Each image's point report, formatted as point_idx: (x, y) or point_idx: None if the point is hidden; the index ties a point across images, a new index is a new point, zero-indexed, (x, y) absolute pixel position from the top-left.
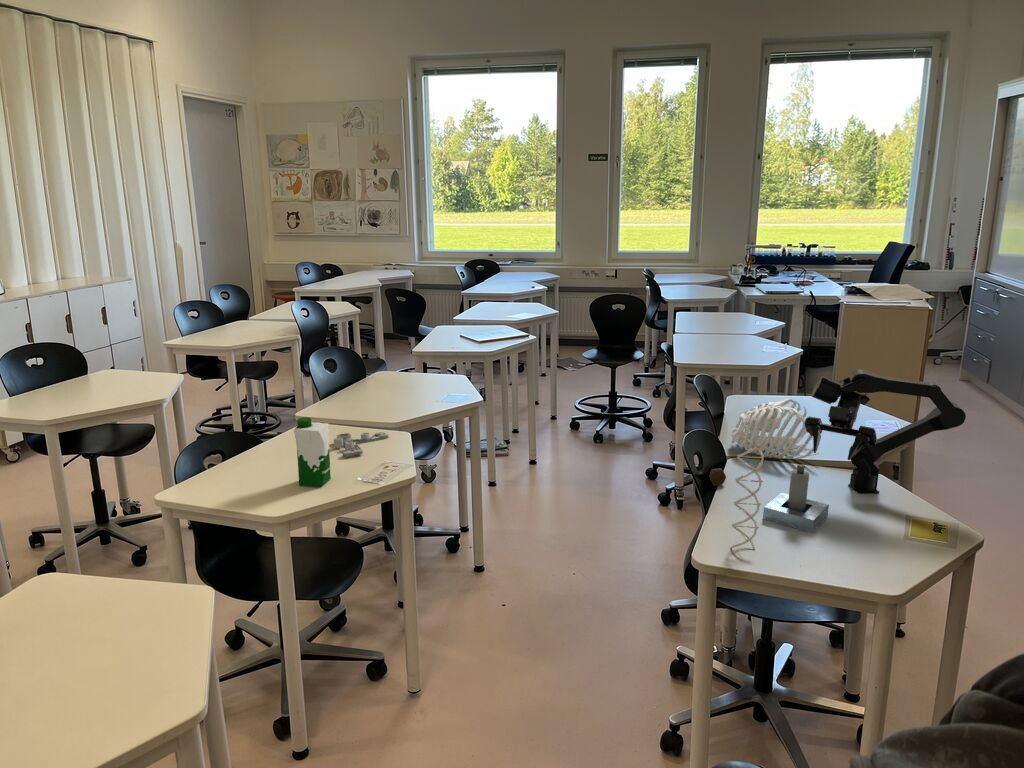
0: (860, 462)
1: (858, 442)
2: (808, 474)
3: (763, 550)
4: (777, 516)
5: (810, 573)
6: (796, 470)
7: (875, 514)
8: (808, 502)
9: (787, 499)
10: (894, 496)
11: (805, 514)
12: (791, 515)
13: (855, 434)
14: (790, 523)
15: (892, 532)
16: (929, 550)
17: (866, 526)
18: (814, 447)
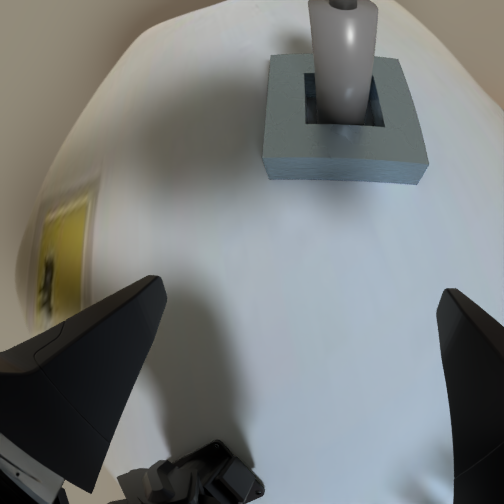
0: (170, 488)
1: (12, 352)
2: (310, 5)
3: None
4: None
5: (239, 3)
6: (367, 13)
7: None
8: (324, 134)
9: (385, 122)
10: (132, 459)
11: (298, 66)
12: None
13: (24, 499)
14: None
15: (115, 193)
16: (72, 163)
17: (166, 185)
18: (470, 303)
